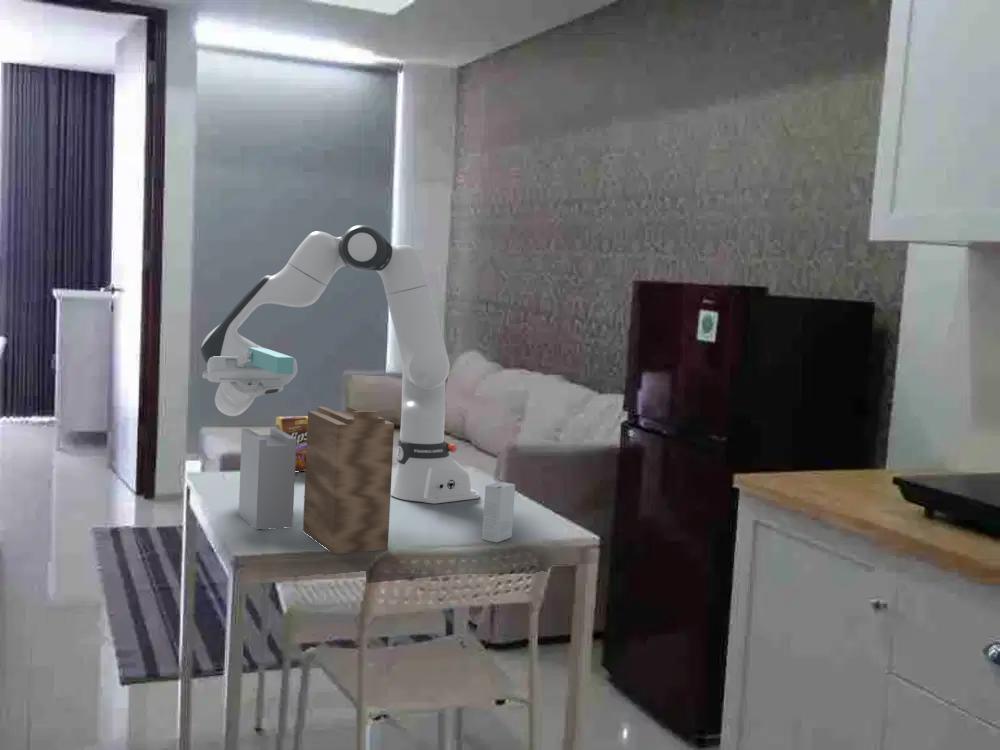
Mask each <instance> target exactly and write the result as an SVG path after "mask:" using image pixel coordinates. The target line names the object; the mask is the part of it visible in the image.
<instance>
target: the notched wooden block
mask: <svg viewBox="0 0 1000 750" xmlns="http://www.w3.org/2000/svg"><path fill="white" fill-rule="evenodd" d="M316 407H317V408H316V410H312V411H311V410H310V411H309V410H307V416H308V425H307V448H306V472H304V473H305V475H304V495H303V497H304V499H303V518H302V519H303V520H302V521H303V522H302V523H303V524H302V525H303V527H302V532H303V531H304V532H305V533H306V534H308V535H309V536H311V537H312V538H313V539H314V540H316V541H317V542H318V543H320V544H321V545H323V546H324V547H326V548H327V549H328V550H329V551H330V552H329V553H330V554H331V555H337V554H338V555H340V554H349V553H352V554H353V553H361V552H362V553H363V552H373V551H374V552H375V551H385V550H387V549H389V536H390V535H389V533H390V512H391V496H392V495H391V491H392V474H393V473H392V472H393V458H394V457H393V454H394V434H395V423H394V422H391V421H389V420H386V418H384V417H381V416H379V410H364V409H361V408H360V407H359V408H358V407H357V406H354V405H346V408H345V410H335V409H332V408H329V407H326V406H324V405H323V406H321V405H320V406H319V405H318V406H316ZM304 532H303V533H304ZM305 533H304V534H305ZM306 534H305V535H306ZM308 535H307V536H308ZM309 536H308V537H309ZM312 538H311V539H312ZM313 539H312V540H313ZM314 540H313V541H314ZM317 542H316V543H317ZM318 543H317V544H318ZM321 545H320V546H321ZM387 551H388V550H387Z"/></svg>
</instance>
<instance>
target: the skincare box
mask: <svg viewBox="0 0 1000 750" xmlns="http://www.w3.org/2000/svg"><path fill="white" fill-rule="evenodd" d="M515 492H516V484H515V483H510V482H504V481H498V482H494V483H491V484H487V485H485V491H484V500H483V502H484V503H483V504H484V505H483V515H482V516H483V517H482V529H481V530H482V531H481V532H482V533H481V539H482V540H484V541H487V542H490V543H500V542H503V541H505V540H509V539H510V538H512V535H513V522H514V521H513V520H514V508H515V506H514V505H515V494H516V493H515Z"/></svg>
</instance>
